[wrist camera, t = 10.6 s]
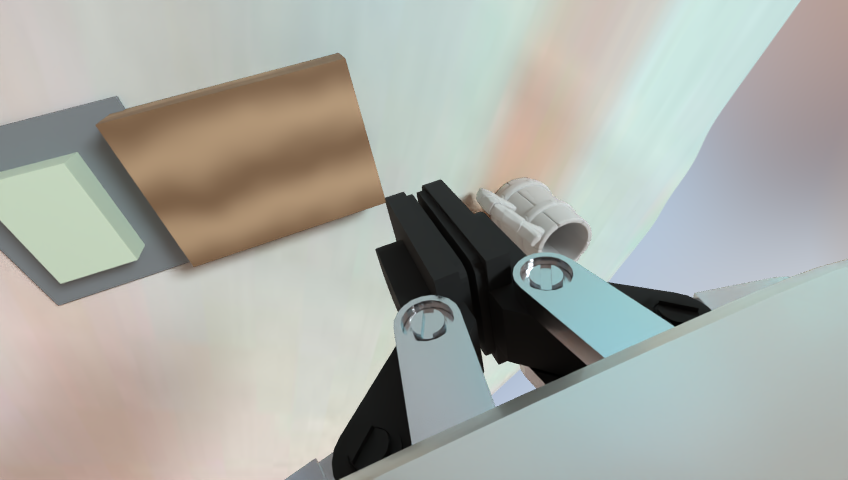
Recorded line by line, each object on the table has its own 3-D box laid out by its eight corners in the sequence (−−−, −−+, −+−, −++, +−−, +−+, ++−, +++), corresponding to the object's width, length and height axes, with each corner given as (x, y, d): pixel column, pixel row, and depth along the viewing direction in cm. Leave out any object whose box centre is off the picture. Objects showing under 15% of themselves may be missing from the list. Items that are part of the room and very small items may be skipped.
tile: (63, 163, 28) (77, 152, 30) (-32, 187, 27) (-11, 174, 29) (137, 260, 33) (145, 244, 35) (60, 283, 32) (73, 266, 34)
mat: (-97, 150, 27) (-101, 152, 27) (116, 96, 29) (115, 97, 29) (60, 302, 36) (58, 305, 35) (215, 251, 38) (214, 253, 38)
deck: (111, 112, 30) (95, 125, 27) (338, 52, 33) (345, 58, 30) (199, 246, 37) (193, 267, 34) (377, 188, 40) (386, 202, 37)
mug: (521, 238, 50) (580, 295, 41) (448, 212, 44) (497, 271, 35) (554, 187, 48) (626, 235, 38) (481, 152, 42) (545, 198, 32)
